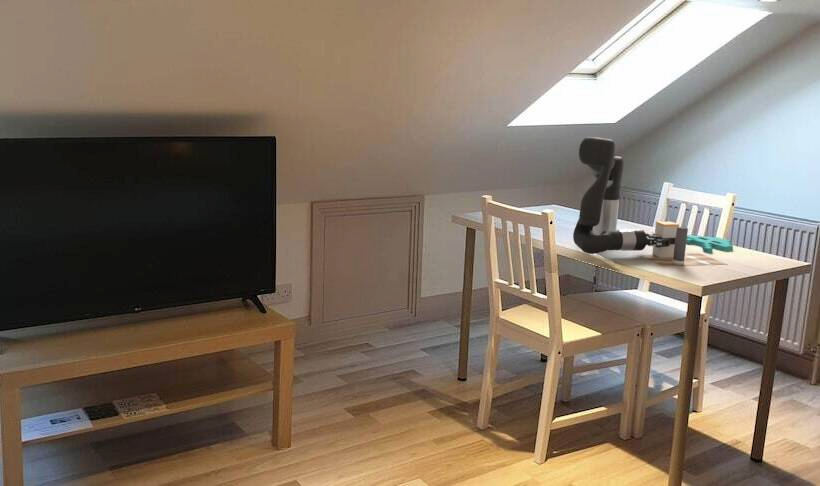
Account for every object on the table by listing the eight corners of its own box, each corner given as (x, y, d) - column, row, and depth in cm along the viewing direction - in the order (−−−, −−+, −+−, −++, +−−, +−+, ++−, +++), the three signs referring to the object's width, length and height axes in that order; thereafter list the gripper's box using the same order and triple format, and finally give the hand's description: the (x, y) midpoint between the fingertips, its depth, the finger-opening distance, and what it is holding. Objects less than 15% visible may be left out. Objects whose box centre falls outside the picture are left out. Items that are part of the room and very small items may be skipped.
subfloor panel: (636, 258, 290) (637, 254, 289) (698, 256, 296) (698, 252, 296) (663, 270, 274) (664, 266, 273) (727, 268, 280) (728, 264, 280)
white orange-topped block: (652, 254, 290) (656, 221, 288) (667, 253, 292) (671, 221, 289) (659, 257, 285) (664, 224, 283) (674, 257, 287) (679, 224, 284)
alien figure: (707, 254, 303) (744, 250, 313) (708, 248, 302) (744, 244, 312) (667, 242, 320) (702, 239, 330) (667, 237, 319) (703, 233, 329)
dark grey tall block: (670, 262, 279) (674, 227, 276) (679, 262, 280) (684, 226, 277) (676, 265, 275) (680, 229, 272) (686, 265, 276) (690, 229, 273)
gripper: (641, 233, 276) (685, 233, 281) (620, 225, 289) (662, 224, 294) (639, 255, 278) (683, 254, 282) (618, 245, 291) (660, 244, 296)
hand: (672, 239), depth 288 cm, fingers closed on white orange-topped block, 5 cm apart
